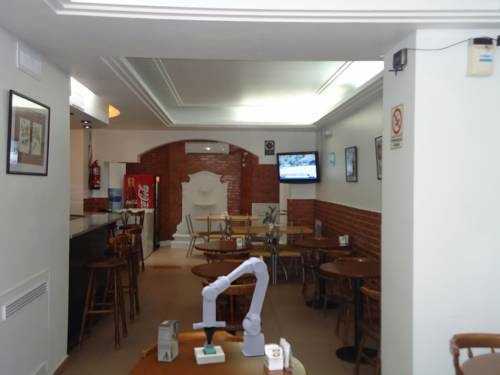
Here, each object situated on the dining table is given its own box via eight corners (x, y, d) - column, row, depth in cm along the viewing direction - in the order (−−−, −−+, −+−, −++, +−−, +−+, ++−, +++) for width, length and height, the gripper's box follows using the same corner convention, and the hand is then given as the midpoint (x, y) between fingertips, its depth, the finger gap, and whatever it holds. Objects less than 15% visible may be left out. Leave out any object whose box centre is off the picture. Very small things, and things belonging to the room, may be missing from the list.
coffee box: (165, 353, 202) (165, 319, 202) (178, 354, 201) (178, 319, 201) (157, 361, 193) (157, 324, 193) (171, 362, 192) (171, 325, 192)
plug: (212, 353, 200) (212, 340, 200) (214, 358, 194) (214, 345, 194) (203, 354, 199) (203, 341, 199) (205, 359, 193) (205, 345, 193)
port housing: (220, 352, 204) (220, 345, 204) (224, 361, 192) (224, 354, 192) (194, 354, 201) (194, 348, 201) (197, 364, 189) (197, 357, 189)
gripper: (223, 310, 202) (223, 339, 202) (192, 312, 199) (192, 342, 199) (226, 314, 196) (226, 344, 195) (194, 316, 192) (194, 347, 192)
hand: (209, 343), depth 197 cm, fingers closed, pressing on plug
